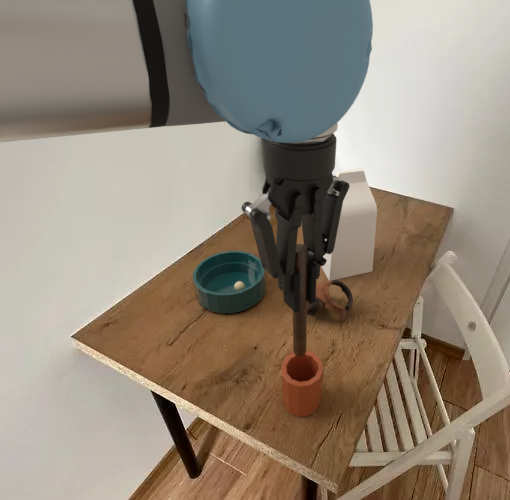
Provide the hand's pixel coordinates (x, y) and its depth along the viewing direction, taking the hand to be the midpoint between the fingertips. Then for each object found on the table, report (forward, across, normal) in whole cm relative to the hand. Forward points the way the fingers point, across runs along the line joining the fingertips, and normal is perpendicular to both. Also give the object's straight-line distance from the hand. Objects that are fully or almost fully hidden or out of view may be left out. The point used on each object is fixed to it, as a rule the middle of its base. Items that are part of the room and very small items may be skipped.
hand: (299, 301), depth 49 cm
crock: (+23, 0, +1) cm, 23 cm away
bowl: (+23, -3, -31) cm, 39 cm away
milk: (+23, -31, -24) cm, 46 cm away
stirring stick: (+11, 0, 0) cm, 11 cm away
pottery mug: (+23, -16, -13) cm, 31 cm away
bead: (+21, -5, -29) cm, 36 cm away
